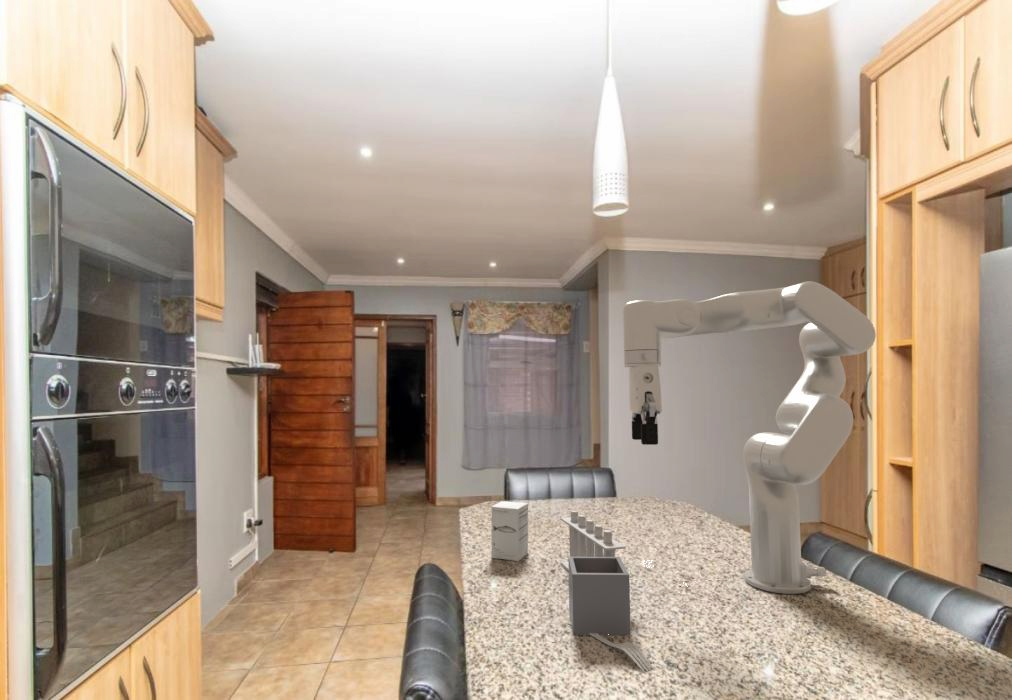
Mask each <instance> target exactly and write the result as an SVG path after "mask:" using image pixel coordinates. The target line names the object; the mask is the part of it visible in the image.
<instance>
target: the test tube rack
mask: <svg viewBox="0 0 1012 700" xmlns="http://www.w3.org/2000/svg"><path fill="white" fill-rule="evenodd" d="M560 521H562V522H563V523H565V524H567V525H568V526H569V528H568V529H569V557H616V550H625V549H627V546H625V545H624V544H622V543H621V542H619V541H617V540H615V539H614V538H613V533H612V530H611V529H604V528H603V525H601V524H595V522H594V520H593V519H587V518H586V515H584V514H579V511H578V510H575V509H574V510H571V511H570V517H569V516H568V517H567V516H566V517H560ZM603 529H604V530H603ZM561 565H562V566H563V567H564V568H563V567H562V566H561ZM560 566H561V567H562V568H563V569H564V570H566V571H567V572H568V571H569V560H567V561H560Z"/></svg>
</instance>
